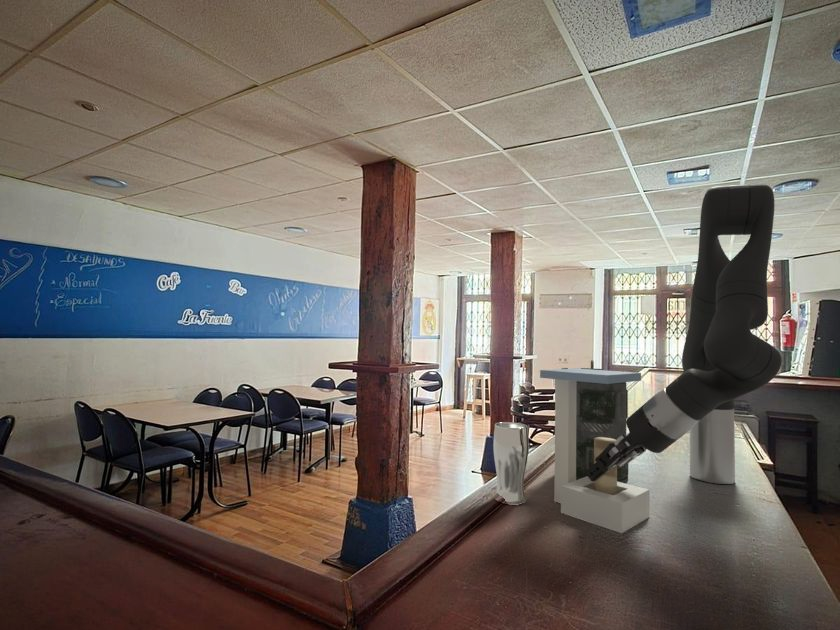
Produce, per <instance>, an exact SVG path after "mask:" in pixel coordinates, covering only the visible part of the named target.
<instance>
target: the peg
mask: <svg viewBox="0 0 840 630" xmlns="http://www.w3.org/2000/svg"><path fill="white" fill-rule="evenodd" d="M616 441H617V440H615V439H611V438H604V437H597V438H594V464H595V463H596V461H595V459H596V457H598V456H599V455H600V454H601V453H602V452H603V451H604V450H605V449H606V448H607V447H608V446H609V444H610V443H615V442H616ZM594 490H596V491H599V492H603V493H607V494H610V495H615V494H617V465H616V466H614V467H613V468H612V469H610V471H607V472H606V473H605V474H603V475H602V476H601V477H599V478H598V479H597V480H596V481H594Z"/></svg>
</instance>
